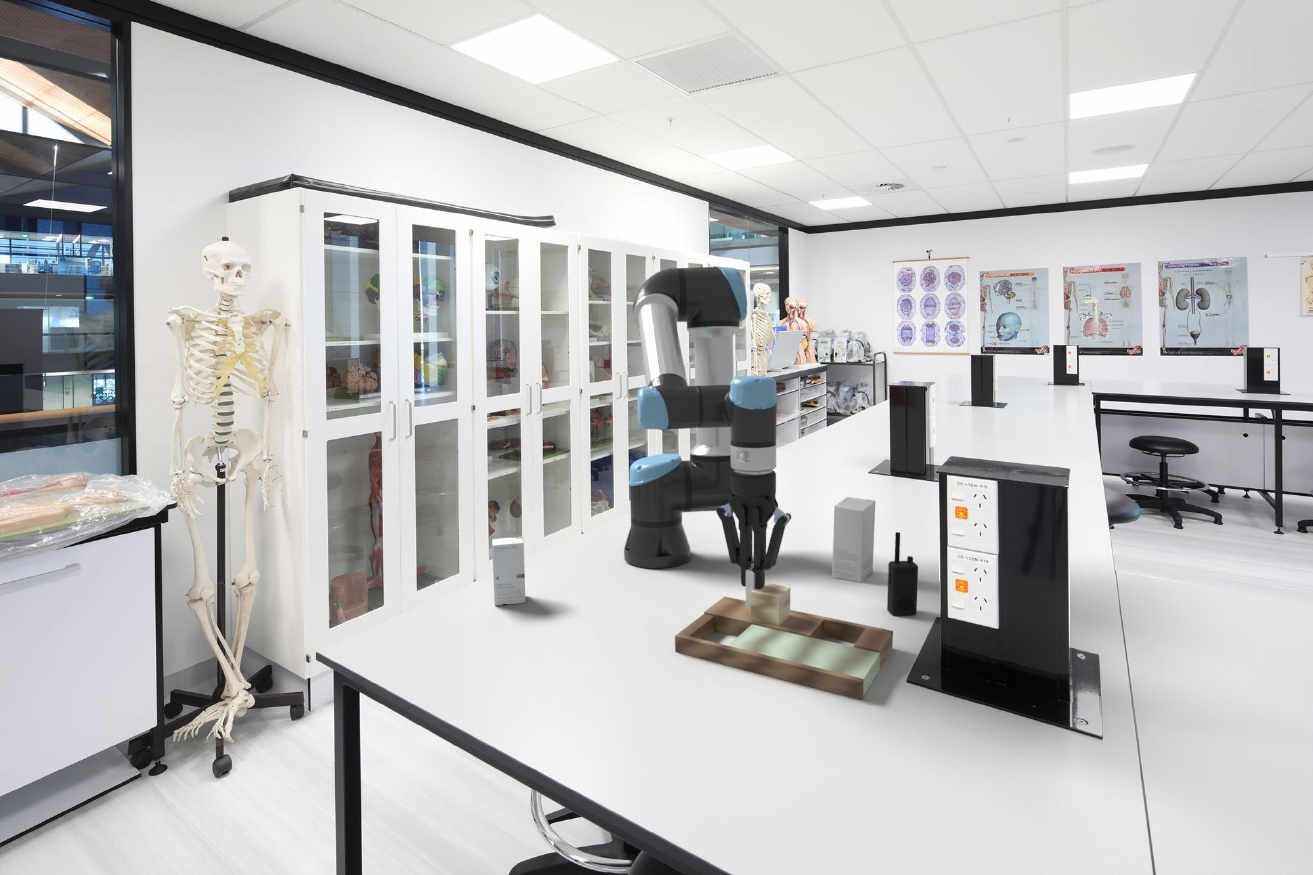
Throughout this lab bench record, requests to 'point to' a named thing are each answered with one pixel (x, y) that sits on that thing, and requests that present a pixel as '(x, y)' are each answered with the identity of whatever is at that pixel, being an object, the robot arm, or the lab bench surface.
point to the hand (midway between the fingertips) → (752, 605)
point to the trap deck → (791, 647)
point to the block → (770, 604)
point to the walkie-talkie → (902, 584)
